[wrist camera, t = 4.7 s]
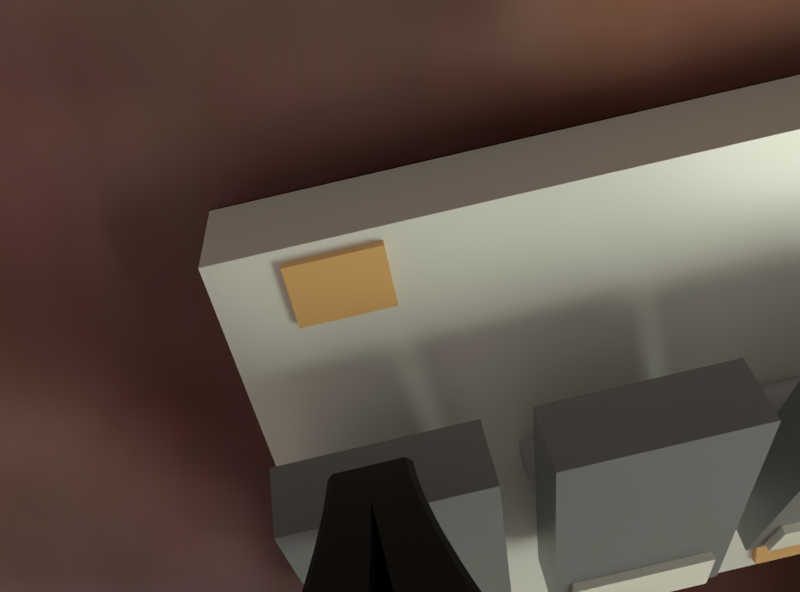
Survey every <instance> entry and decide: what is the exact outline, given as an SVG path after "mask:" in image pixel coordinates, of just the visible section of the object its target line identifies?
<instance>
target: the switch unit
mask: <svg viewBox="0 0 800 592" xmlns="http://www.w3.org/2000/svg"><path fill="white" fill-rule="evenodd" d="M198 269H199V272H200V274H201V277H202V279H203V282H204V284H205V287H206V289H207V292H208V294H209V297H210V300H211V302H212V305H213V307H214V310H215V312H216V315H217V317H218V320H219V322H220V325H221V328H222V330H223V333H224V335H225V338H226V340H227V343H228V345H229V348H230V350H231V353H232V356H233V358H234V361H235V363H236V366H237V368H238V371H239V373H240V376H241V378H242V381H243V384H244V386H245V389H246V391H247V394H248V396H249V399H250V401H251V404H252V406H253V409H254V412H255V414H256V417H257V419H258V422H259V424H260V427H261V429H262V432H263V434H264V437H265V440H266V442H267V445H268V447H269V450H270V452H271V455H272V457H273V460H274V462H275V465H276V466H280V465H285V464H289V463H293V462H297V461H302V460H306V459H310V458H315V457H319V456H323V455H328V454H332V453H336V452H340V451H345V450H349V449H353V448H358V447H362V446H366V445H370V444H375V443H379V442H383V441H388V440H392V439H396V438H400V437H405V436H409V435H413V434H418V433H422V432H426V431H430V430H435V429H439V428H443V427H448V426H452V425H456V424H460V423H465V422H469V421H473V420H478V419H480V420H481V423H482V427H483V430H484V433H485V437H486V440H487V444H488V447H489V451H490V454H491V457H492V461H493V464H494V468H495V471H496V475H497V478H498V481H499V485H500V492H501V501H502V510H503V520H504V529H505V538H506V547H507V557H508V566H509V575H510V584H511V592H548V589H547V586H546V583H545V579H544V576H543V573H542V570H541V566H540V563H539V560H538V541H537V512H536V483H535V454H534V426H533V406H538V405H542V404H546V403H551V402H555V401H559V400H563V399H568V398H572V397H576V396H581V395H585V394H589V393H593V392H598V391H602V390H606V389H611V388H615V387H619V386H623V385H628V384H632V383H636V382H641V381H645V380H649V379H653V378H658V377H662V376H666V375H671V374H675V373H679V372H683V371H688V370H692V369H696V368H701V367H705V366H709V365H714V364H718V363H722V362H726V361H731V360H735V359H739V358H743V359H744V360H745V362H746V364H747V365H748V367H749V368H750V370H751V372H752V373H753V375H754V377H755V378H756V380H757V382H758V383H759V385H760V386H761V388H762V390H763V391H764V393H765V395H766V396H767V398H768V399H769V401H770V403H771V404H772V406H773V408H774V409H775V411H776V413H778V412H779V410H780V409H781V407H782V406H783V404H784V403H785V401H786V400H787V398H788V397H789V395H790V394H791V393H792V391H793V390H794V388H795V387H796V385H797V384H798V382H799V381H800V75H796V76H792V77H787V78H783V79H779V80H774V81H770V82H766V83H761V84H757V85H753V86H748V87H744V88H740V89H735V90H731V91H727V92H722V93H718V94H714V95H709V96H705V97H701V98H697V99H692V100H688V101H684V102H679V103H675V104H671V105H666V106H662V107H658V108H653V109H649V110H645V111H640V112H636V113H632V114H627V115H623V116H619V117H614V118H610V119H606V120H601V121H597V122H593V123H588V124H584V125H580V126H575V127H571V128H567V129H562V130H558V131H554V132H549V133H545V134H541V135H536V136H532V137H528V138H523V139H519V140H515V141H510V142H506V143H502V144H497V145H493V146H489V147H484V148H480V149H476V150H471V151H467V152H463V153H458V154H454V155H450V156H445V157H441V158H437V159H432V160H428V161H424V162H419V163H415V164H411V165H407V166H402V167H398V168H394V169H389V170H385V171H381V172H376V173H372V174H368V175H363V176H359V177H355V178H350V179H346V180H342V181H337V182H333V183H329V184H324V185H320V186H316V187H311V188H307V189H303V190H298V191H294V192H290V193H285V194H281V195H277V196H272V197H268V198H264V199H259V200H255V201H251V202H246V203H242V204H238V205H233V206H229V207H225V208H220V209H216V210H212V211H209V216H208V221H207V226H206V231H205V236H204V242H203V247H202V252H201V257H200V262H199V267H198ZM797 554H800V544H798V545H794V546H790V547H785V548H781V549H777V550H772V551H768V549H767V547H766V546H762V547H758V548H754V549H750V550H745V548H744V545H743V543H742V541H741V539H740V537H739V534H738V532H737V530H736V531H735V533H734V536H733V538H732V541H731V543H730V545H729V548H728V550H727V553H726V555H725V557H724V560H723V562H722V565H721V567H720V569H719V572H718V573H720V572H724V571H729V570H733V569H737V568H741V567H746V566H750V565H754V564H759V563H763V562H768V561H772V560H776V559H780V558H785V557H789V556H793V555H797Z"/></svg>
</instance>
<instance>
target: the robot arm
mask: <svg viewBox="0 0 800 592" xmlns="http://www.w3.org/2000/svg"><path fill="white" fill-rule="evenodd" d="M302 592H482V591H481V590H480V589H479V587H478V586H477V584H476V583H475V581H474V580H473V579H472V577H471V576H470V574H469V573H468V571H467V569H466V568H465V566H464V565H463V563H462V562H461V560H460V558H459V557H458V555H457V554H456V552H455V550H454V549H453V547H452V545H451V544H450V542H449V540H448V539H447V537H446V535H445V534H444V532H443V530H442V528H441V527H440V525H439V523H438V521H437V519H436V517H435V515H434V513H433V511H432V509H431V507H430V505H429V503H428V501H427V499H426V497H425V495H424V492H423V490H422V488H421V485H420V483H419V480H418V477H417V474H416V470H415V467H414V463H413V460H411V459H409V458H406V457H403V458H398V459H394V460H390V461H386V462H381V463H377V464H373V465H369V466H364V467H360V468H356V469H352V470H347V471H343V472H339V473H335V474H332V475H331V477H330V478H329V479H328V480H327V489H326V496H325V502H324V508H323V513H322V518H321V523H320V527H319V531H318V535H317V540H316V544H315V548H314V552H313V555H312V559H311V562H310V566H309V569H308V573H307V576H306V580H305V583H304V587H303V590H302Z"/></svg>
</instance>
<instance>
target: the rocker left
mask: <svg viewBox="0 0 800 592" xmlns="http://www.w3.org/2000/svg"><path fill="white" fill-rule="evenodd" d="M403 457H406V458H409V459H411V460H413V463H414V467H415V470H416V474H417V477H418V480H419V483H420V485H421V488H422V490H423V492H424V495H425V497H426V499H427V501H428V503H429V505H430V507H431V509H432V511H433V513H434V515H435V517H436V519H437V521H438V523H439V525H440V527H441V528H442V530H443V532H444V534H445V535H446V537H447V539H448V540H449V542H450V544H451V545H452V547H453V549H454V550H455V552H456V554H457V555H458V557H459V558H460V560H461V562H462V563H463V565H464V566H465V568H466V569H467V571H468V573H469V574H470V576H471V577H472V579H473V580H474V581H475V583H476V584H477V586H478V587H479V589H480V590H481V591H482V592H511V584H510V575H509V566H508V557H507V547H506V538H505V529H504V520H503V510H502V501H501V492H500V485H499V481H498V478H497V475H496V471H495V468H494V464H493V461H492V457H491V454H490V451H489V447H488V444H487V440H486V437H485V433H484V430H483V427H482V423H481V420H480V419H478V420H473V421H469V422H465V423H460V424H456V425H452V426H448V427H443V428H439V429H435V430H430V431H426V432H422V433H418V434H413V435H409V436H405V437H400V438H396V439H392V440H388V441H383V442H379V443H375V444H370V445H366V446H362V447H358V448H353V449H349V450H345V451H340V452H336V453H332V454H328V455H323V456H319V457H315V458H310V459H306V460H302V461H297V462H293V463H289V464H285V465H280V466H276V467H272V468H269V470H270V486H271V502H272V518H273V534H274V540H275V541H276V543H277V545H278V546H279V548H280V549H281V551H282V552H283V554H284V555H285V557H286V559H287V560H288V562H289V563H290V565H291V566H292V568H293V570H294V571H295V573H296V574H297V576H298V577H299V579H300V580H301V582H302V584H303V585H304V583H305V580H306V576H307V573H308V569H309V566H310V562H311V559H312V555H313V552H314V548H315V544H316V540H317V535H318V531H319V527H320V523H321V518H322V513H323V508H324V502H325V496H326V489H327V480H328V479H329V478H330V477H331V475H332V474H335V473H339V472H343V471H347V470H352V469H356V468H360V467H364V466H369V465H373V464H377V463H381V462H386V461H390V460H394V459H398V458H403Z"/></svg>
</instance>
